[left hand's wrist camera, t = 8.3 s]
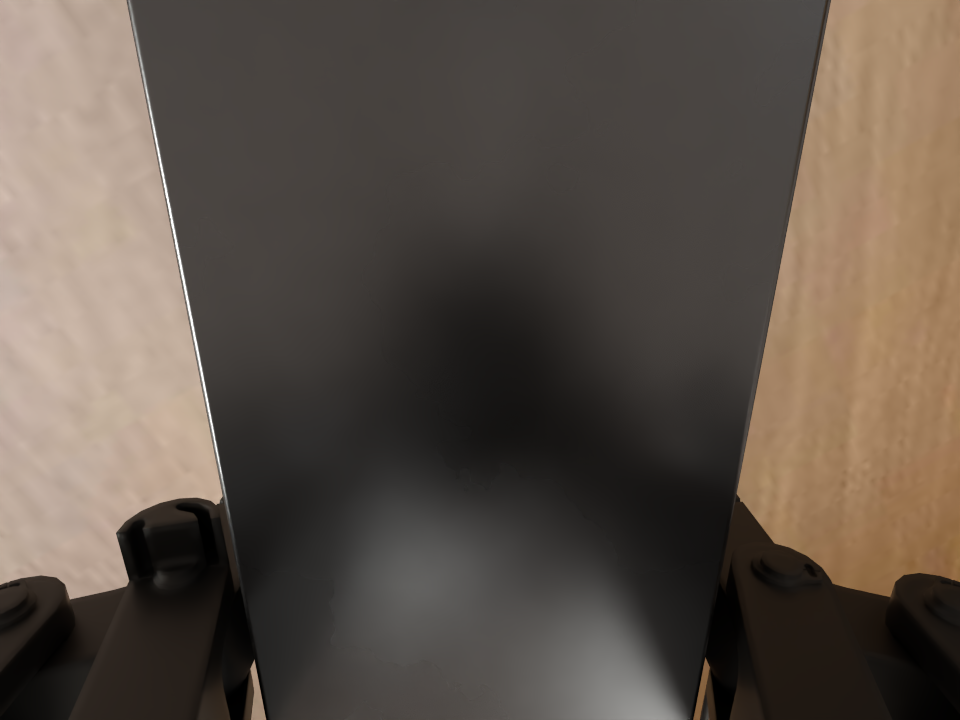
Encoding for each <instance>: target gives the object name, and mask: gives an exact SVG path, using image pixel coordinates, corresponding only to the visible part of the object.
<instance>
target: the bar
mask: <svg viewBox="0 0 960 720" xmlns="http://www.w3.org/2000/svg"><path fill="white" fill-rule="evenodd" d="M830 2H831V0H127V5H128V10H129V15H130V20H131V25H132V30H133V36H134V41H135V46H136V51H137V56H138V61H139V66H140V72H141V77H142V82H143V87H144V92H145V97H146V102H147V108H148V113H149V118H150V123H151V128H152V133H153V139H154V144H155V149H156V154H157V159H158V164H159V169H160V175H161V180H162V185H163V190H164V195H165V200H166V205H167V211H168V216H169V221H170V226H171V231H172V236H173V242H174V247H175V252H176V257H177V262H178V267H179V272H180V278H181V283H182V288H183V293H184V298H185V303H186V309H187V314H188V319H189V324H190V329H191V334H192V339H193V345H194V350H195V355H196V360H197V365H198V370H199V375H200V381H201V386H202V391H203V396H204V401H205V406H206V412H207V417H208V422H209V427H210V432H211V437H212V442H213V448H214V453H215V458H216V463H217V468H218V473H219V478H220V484H221V489H222V494H223V499H224V504H225V509H226V515H227V520H228V525H229V530H230V535H231V540H232V545H233V551H234V556H235V561H236V566H237V571H238V576H239V581H240V587H241V592H242V597H243V602H244V607H245V612H246V618H247V623H248V628H249V633H250V638H251V643H252V648H253V654H254V659H255V664H256V669H257V674H258V679H259V684H260V690H261V695H262V700H263V705H264V710H265V715H266V720H693V718H694V713H695V708H696V703H697V697H698V692H699V687H700V682H701V676H702V671H703V666H704V661H705V656H706V650H707V645H708V640H709V635H710V629H711V624H712V619H713V614H714V608H715V603H716V598H717V593H718V588H719V582H720V577H721V572H722V567H723V561H724V556H725V551H726V546H727V541H728V535H729V530H730V525H731V520H732V514H733V509H734V504H735V499H736V494H737V488H738V483H739V478H740V473H741V467H742V462H743V457H744V452H745V446H746V441H747V436H748V431H749V426H750V420H751V415H752V410H753V405H754V399H755V394H756V389H757V384H758V379H759V373H760V368H761V363H762V358H763V352H764V347H765V342H766V337H767V332H768V326H769V321H770V316H771V311H772V305H773V300H774V295H775V290H776V284H777V279H778V274H779V269H780V264H781V258H782V253H783V248H784V243H785V237H786V232H787V227H788V222H789V217H790V211H791V206H792V201H793V196H794V190H795V185H796V180H797V175H798V169H799V164H800V159H801V154H802V149H803V143H804V138H805V133H806V128H807V122H808V117H809V112H810V107H811V102H812V96H813V91H814V86H815V81H816V75H817V70H818V65H819V60H820V55H821V49H822V44H823V39H824V34H825V28H826V23H827V18H828V13H829V7H830Z"/></svg>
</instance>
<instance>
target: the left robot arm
mask: <svg viewBox="0 0 960 720" xmlns="http://www.w3.org/2000/svg"><path fill="white" fill-rule="evenodd" d="M116 534H117V538H118V542H119V545H120V549H121V552H122V556H123V560H124V563H125V567H126V570H127V574H128V578H129V583H128V585H127V586H126V587H123V588H119V589H116V590H112V591H107V592H103V593H98V594H94V595H89V596H85V597H80V598H75V599H71V600H70V599H69V596H68V593H67V590H66V587H65V584H64V583H62V582H61V581H60V580H59V579H57V578H55V577H48V576H35V577H28V578H21V579H18V580H14V581H10V582H9V583H4V584H2V585H0V720H251V714H252V705H253V697H254V688H253V680H252V675H251V670H250V668H251V666H252V664H253V661H254V654H253V648H252V643H251V638H250V633H249V628H248V623H247V618H246V612H245V607H244V602H243V597H242V592H241V587H240V581H239V576H238V571H237V566H236V561H235V556H234V551H233V545H232V540H231V535H230V530H229V525H228V520H227V515H226V509H225V504H224V499H223V497H222V498H221V500H220V504H217V505H215V504H214V503H213V502H211V501H209V500H205V499H200V498H182V499H176V500H171V501H167V502H163V503H159V504H157V505H155V506H152V507H150V508H148V509H145V510H143V511H141V512H139V513H138V514H136V515H135V516H133V517H132V518H130V519H129V520H127V521H126V522H125V523H124V524H123V525H122V527H121V528H120V529H119V530H118V531H117V533H116ZM705 657H706V659H707V662H708V664H709V666H710V670H709V675H708V680H707V685H706V690H705V696H704V701H703V706H702V711H701V717H700V720H960V582H958V581H955V580H951V579H949V578H945V577H941V576H936V575H929V574H922V573H917V574H909V575H904V576H902V577H901V578H900V579H899V580H897V581H896V582H895V585H894V588H893V591H892V594H891V597H887V596H882V595H877V594H873V593H868V592H864V591H859V590H854V589H850V588H845V587H842V586H838V585H835V584H832V582H831V580H830V578H829V577H828V576H827V574H826V573H825V571H824V570H823V569H822V567H820V566H819V565H818V564H816V563H815V562H814V561H813V560H811V559H810V558H809V557H807V556H806V555H803V554H801V553H799V552H797V551H795V550H793V549H791V548H789V547H785V546H781V545H778V544H774V542H773V541H772V540H771V539H770V537H769V536H768V535H767V533H766V532H765V531H764V529H763V528H762V527H761V525H760V524H759V523H758V522H757V520H756V519H755V518H754V516H753V515H752V514H751V512H750V511H749V510H748V508H747V507H746V506H745V504H744V503H743V502H740V498H739V497H738V495H737V494H736V499H735V504H734V509H733V514H732V520H731V525H730V530H729V535H728V541H727V546H726V551H725V556H724V561H723V567H722V572H721V577H720V582H719V588H718V593H717V598H716V603H715V608H714V614H713V619H712V624H711V629H710V635H709V640H708V645H707V650H706V656H705Z"/></svg>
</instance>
